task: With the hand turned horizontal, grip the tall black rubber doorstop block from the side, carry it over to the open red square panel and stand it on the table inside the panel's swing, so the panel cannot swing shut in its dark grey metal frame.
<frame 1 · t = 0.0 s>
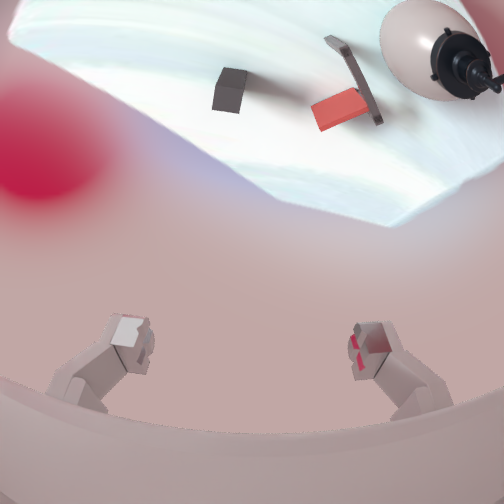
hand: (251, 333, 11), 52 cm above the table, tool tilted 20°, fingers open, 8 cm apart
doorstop: (233, 78, 48), on the table
red square panel: (338, 107, 47), point 6 cm above the table, hinge at 90.0°
light fixture: (415, 35, 36), on the table
door frame: (355, 87, 48), on the table
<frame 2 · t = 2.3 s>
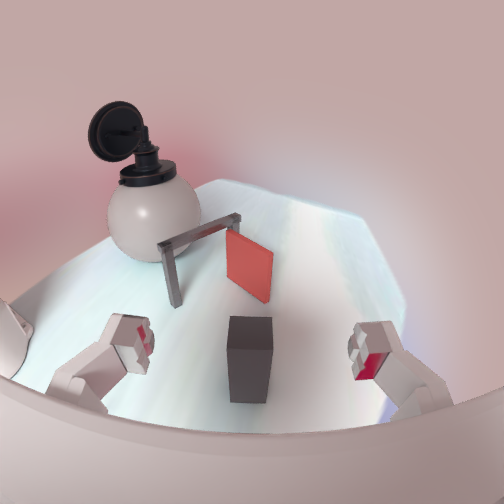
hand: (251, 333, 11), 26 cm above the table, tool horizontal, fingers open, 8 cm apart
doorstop: (248, 388, 35), on the table
red square panel: (247, 266, 49), point 5 cm above the table, hinge at 90.0°
light fixture: (155, 251, 62), on the table
door frame: (227, 276, 55), on the table
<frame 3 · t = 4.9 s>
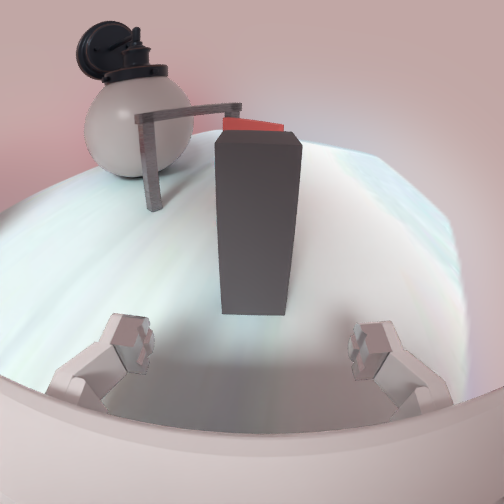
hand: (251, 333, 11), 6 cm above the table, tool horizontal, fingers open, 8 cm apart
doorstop: (253, 294, 22), on the table
red square panel: (250, 157, 36), point 6 cm above the table, hinge at 90.0°
light fixture: (138, 173, 49), on the table
door frame: (224, 185, 42), on the table
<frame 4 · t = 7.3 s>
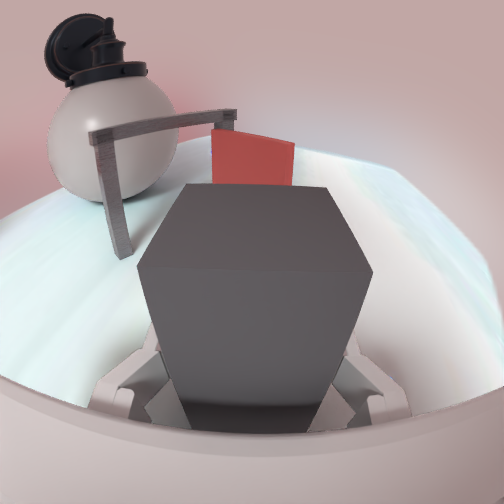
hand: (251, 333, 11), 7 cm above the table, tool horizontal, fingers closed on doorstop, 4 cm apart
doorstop: (249, 420, 14), on the table, touching gripper
red square panel: (247, 184, 27), point 5 cm above the table, hinge at 90.0°
light fixture: (115, 195, 41), on the table
door frame: (215, 216, 34), on the table
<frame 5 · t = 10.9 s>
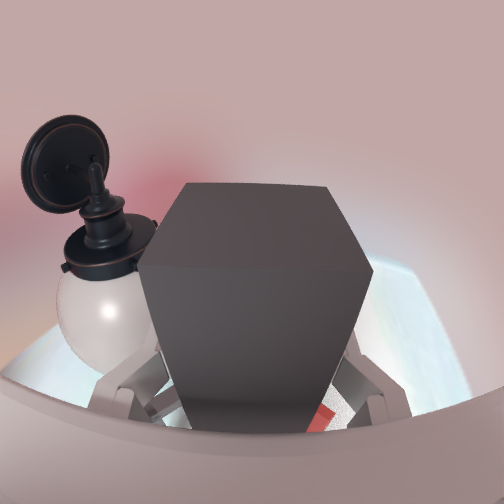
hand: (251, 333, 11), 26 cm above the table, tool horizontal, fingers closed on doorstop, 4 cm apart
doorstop: (249, 420, 14), point 19 cm above the table, touching gripper
red square panel: (284, 408, 27), point 5 cm above the table, hinge at 90.0°
light fixture: (138, 343, 40), on the table
door frame: (248, 400, 33), on the table
when the fingers open (8 cm above the table, at t = 14.6 s): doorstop drops 1 cm, on the table.
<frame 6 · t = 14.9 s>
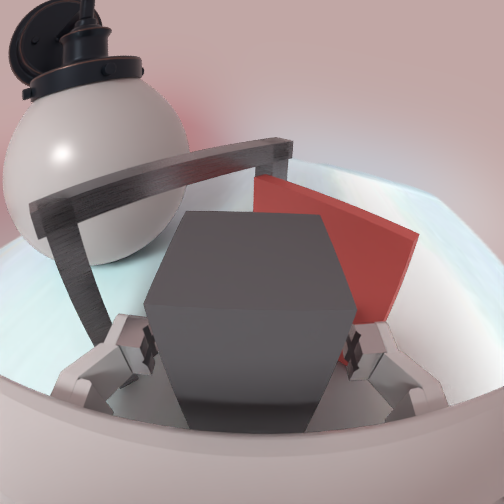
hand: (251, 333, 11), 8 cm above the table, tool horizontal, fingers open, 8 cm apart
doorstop: (247, 426, 14), on the table
red square panel: (315, 276, 17), point 6 cm above the table, hinge at 90.0°
light fixture: (105, 244, 30), on the table
door frame: (251, 299, 23), on the table
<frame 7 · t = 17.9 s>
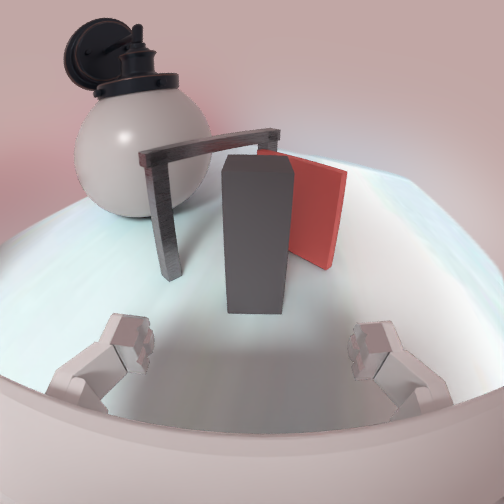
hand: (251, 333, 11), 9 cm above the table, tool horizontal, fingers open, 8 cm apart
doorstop: (254, 296, 26), on the table
red square panel: (294, 206, 29), point 6 cm above the table, hinge at 90.0°
light fixture: (144, 208, 42), on the table
door frame: (256, 234, 35), on the table
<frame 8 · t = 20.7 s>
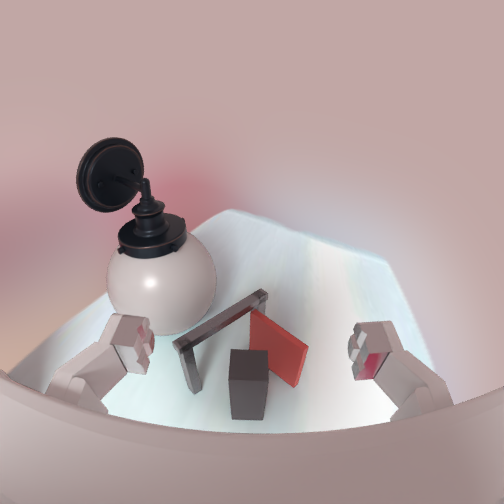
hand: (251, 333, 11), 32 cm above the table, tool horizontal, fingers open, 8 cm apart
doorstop: (247, 407, 38), on the table
red square panel: (275, 350, 41), point 5 cm above the table, hinge at 90.0°
light fixture: (164, 313, 55), on the table
door frame: (249, 351, 48), on the table
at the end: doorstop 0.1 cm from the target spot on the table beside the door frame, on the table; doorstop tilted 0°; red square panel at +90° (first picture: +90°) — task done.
